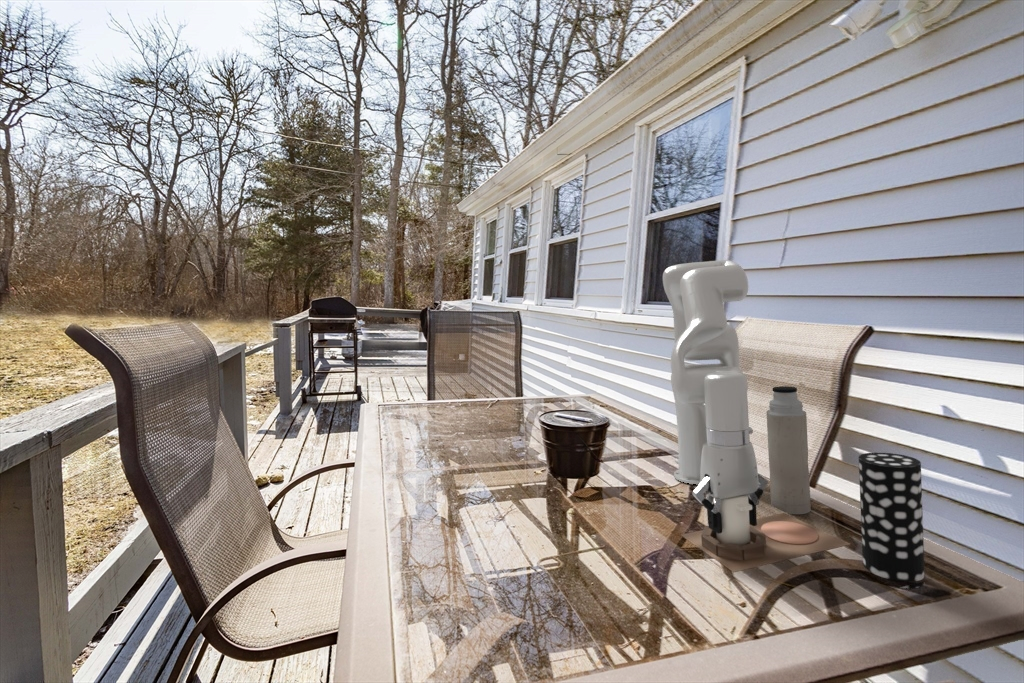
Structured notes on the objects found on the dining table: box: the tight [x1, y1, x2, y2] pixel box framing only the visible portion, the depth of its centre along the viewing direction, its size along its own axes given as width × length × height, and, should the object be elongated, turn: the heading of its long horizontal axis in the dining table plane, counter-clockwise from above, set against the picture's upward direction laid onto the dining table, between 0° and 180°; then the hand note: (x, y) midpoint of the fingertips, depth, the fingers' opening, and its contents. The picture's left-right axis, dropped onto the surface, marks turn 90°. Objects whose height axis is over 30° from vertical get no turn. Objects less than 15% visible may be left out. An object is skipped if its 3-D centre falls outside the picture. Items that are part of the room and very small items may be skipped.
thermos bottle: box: [766, 385, 812, 515], centre depth 113 cm, size 8×8×28 cm
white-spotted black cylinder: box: [858, 452, 926, 590], centre depth 83 cm, size 8×8×20 cm
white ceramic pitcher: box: [705, 494, 752, 546], centre depth 97 cm, size 11×6×10 cm, turn 15°
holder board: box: [680, 512, 851, 573], centre depth 97 cm, size 16×26×3 cm, turn 105°
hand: (732, 526), depth 96 cm, fingers open, 7 cm apart
